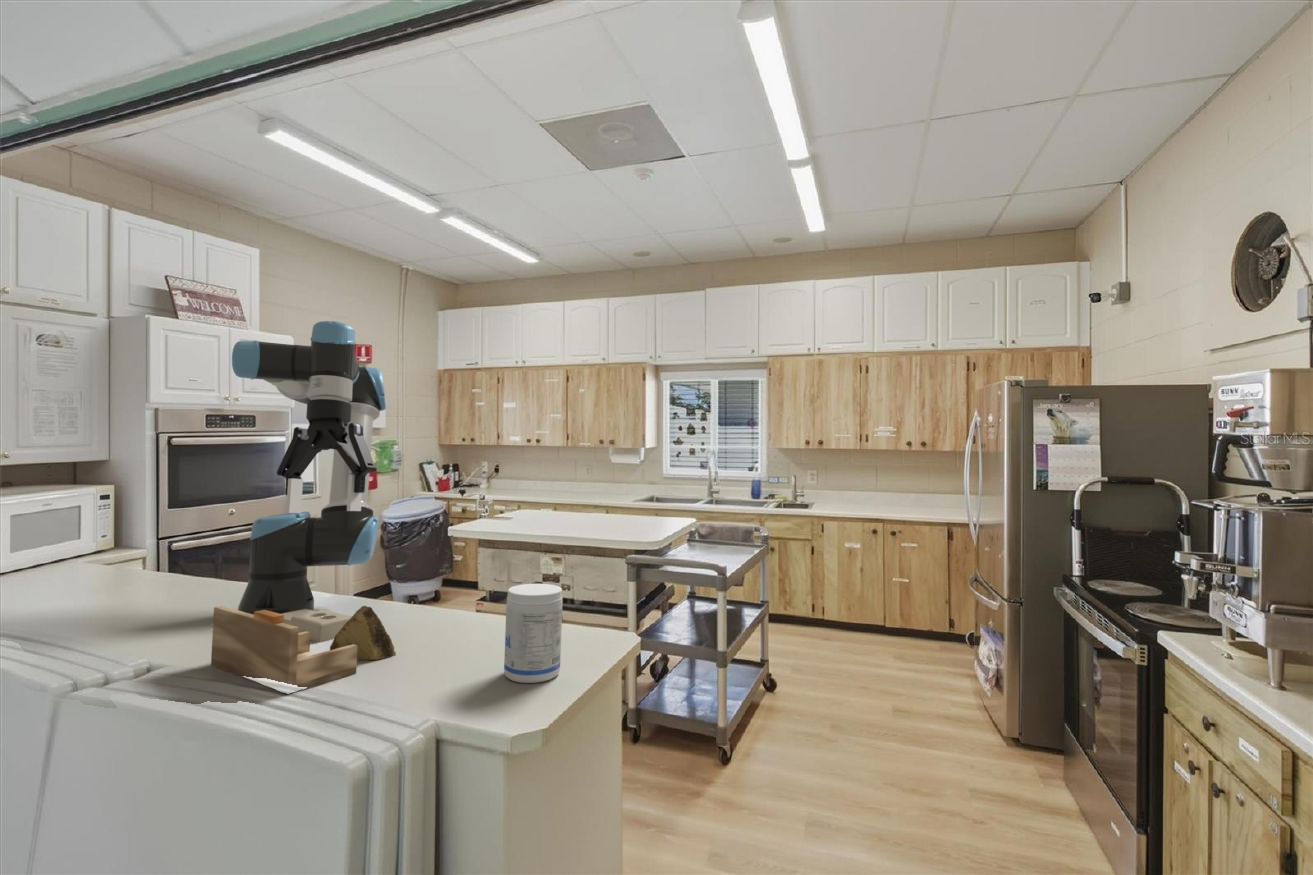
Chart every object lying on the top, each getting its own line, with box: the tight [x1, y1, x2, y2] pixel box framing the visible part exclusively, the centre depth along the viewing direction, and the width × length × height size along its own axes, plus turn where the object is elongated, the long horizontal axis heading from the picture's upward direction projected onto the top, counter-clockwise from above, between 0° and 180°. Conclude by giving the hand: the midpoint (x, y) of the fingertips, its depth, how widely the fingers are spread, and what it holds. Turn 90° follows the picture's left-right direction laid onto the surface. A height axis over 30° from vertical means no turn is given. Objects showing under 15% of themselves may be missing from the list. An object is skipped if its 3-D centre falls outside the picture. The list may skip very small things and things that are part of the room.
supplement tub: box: [503, 583, 563, 684], centre depth 102 cm, size 10×10×15 cm
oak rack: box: [210, 605, 358, 689], centre depth 102 cm, size 11×25×11 cm, turn 60°
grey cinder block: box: [282, 609, 353, 643], centre depth 125 cm, size 7×4×18 cm
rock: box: [329, 605, 397, 661], centre depth 110 cm, size 11×9×10 cm
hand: (323, 512), depth 111 cm, fingers open, 13 cm apart
